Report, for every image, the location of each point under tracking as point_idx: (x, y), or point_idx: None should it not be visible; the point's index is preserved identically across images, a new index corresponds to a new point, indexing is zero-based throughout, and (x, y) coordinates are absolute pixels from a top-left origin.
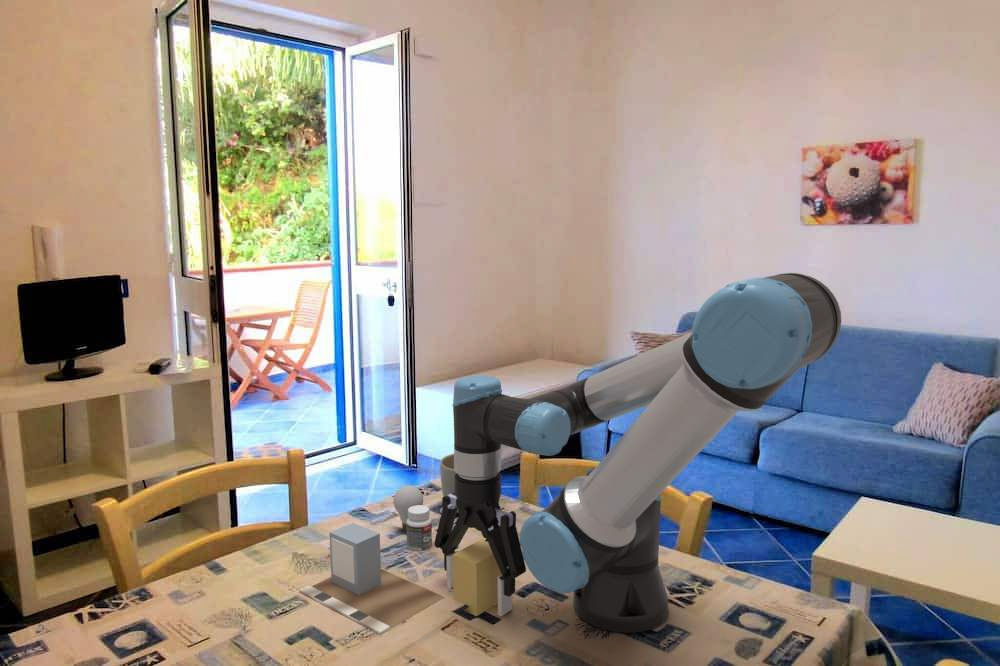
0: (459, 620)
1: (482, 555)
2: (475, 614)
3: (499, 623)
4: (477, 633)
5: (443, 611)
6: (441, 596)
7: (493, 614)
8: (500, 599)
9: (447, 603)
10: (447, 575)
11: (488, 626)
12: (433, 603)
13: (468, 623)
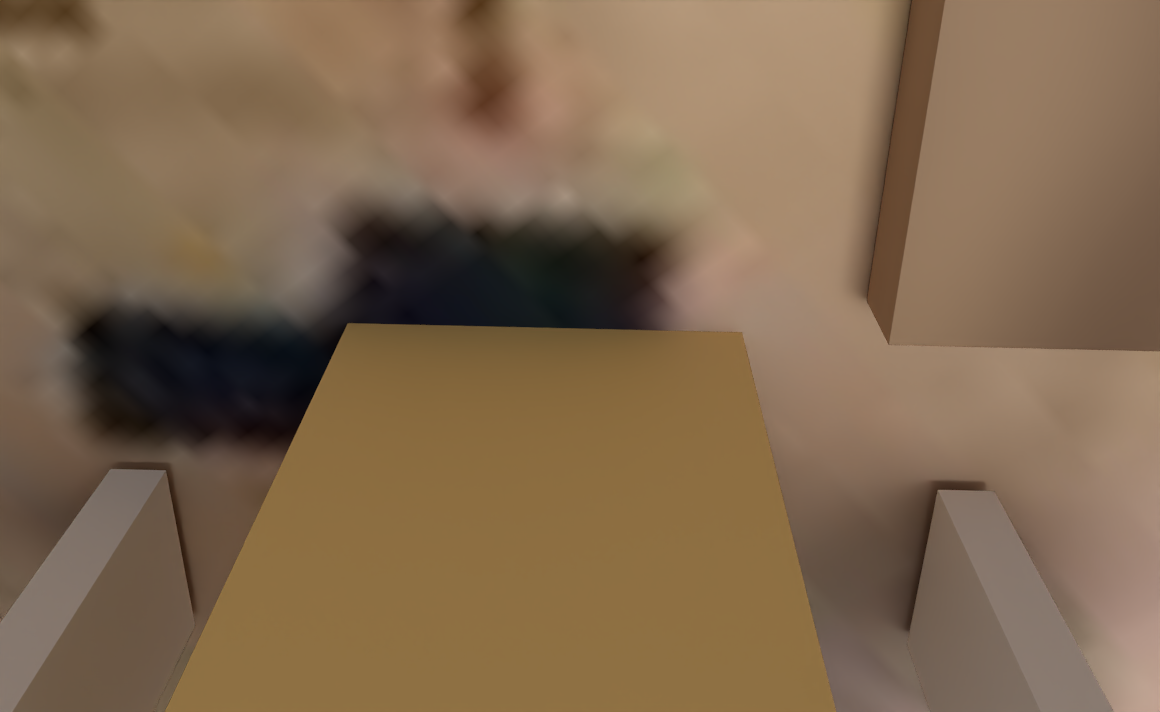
0: (442, 121)
1: None
2: (362, 329)
3: (34, 361)
4: (30, 28)
5: (768, 157)
6: (940, 330)
7: (232, 458)
8: (26, 608)
9: (846, 329)
10: (1066, 654)
11: (69, 238)
12: (926, 119)
13: (300, 139)
